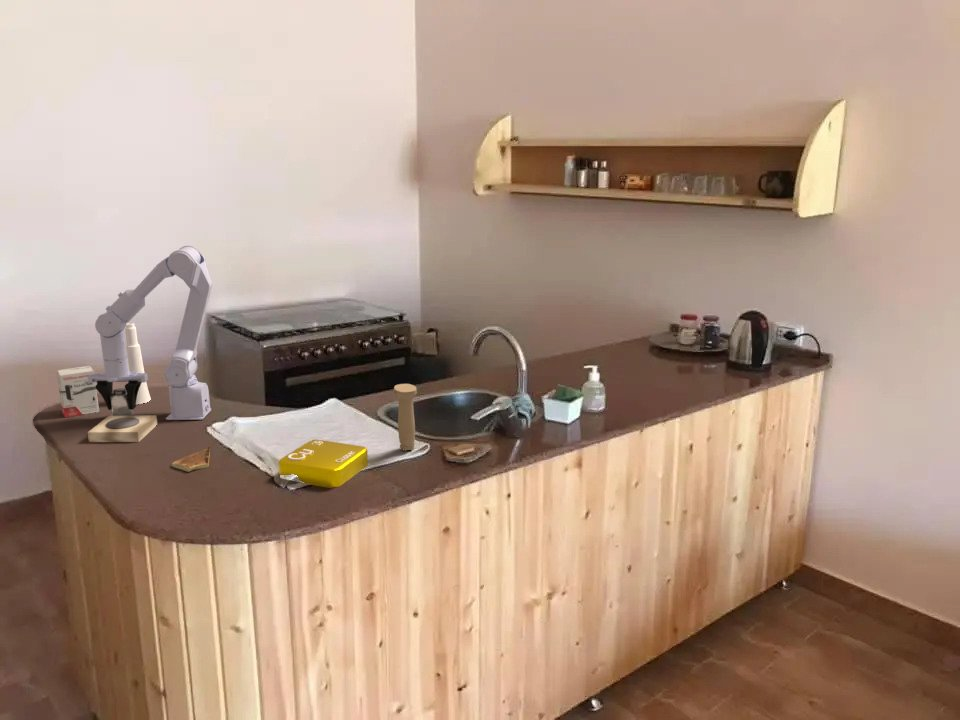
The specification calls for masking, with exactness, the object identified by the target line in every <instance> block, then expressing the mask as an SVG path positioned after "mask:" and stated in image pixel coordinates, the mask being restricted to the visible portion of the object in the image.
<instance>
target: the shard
mask: <svg viewBox="0 0 960 720" xmlns="http://www.w3.org/2000/svg"><path fill="white" fill-rule="evenodd" d="M210 450H211V447H209V446H208V447H207V448H205V449H202V450H200V451H197V452H194V453H190V454H189V455H187V456H184V457H182V458H178V459H177V460H175V461H173V462H172V463H171V467H173V468H174V469H175V468H176V469H179V470H182V471H185V472H188V473H190V472H193V471H196V470H200V469H207V468H209V467H210V457H211V453H210Z"/></svg>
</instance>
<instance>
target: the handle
mask: <svg viewBox="0 0 960 720" xmlns="http://www.w3.org/2000/svg"><path fill="white" fill-rule="evenodd" d="M417 393H418V392H417V386H416V385H414V384H411V383H399V384H396V385H394V387H393V394H394V396H395V397H397V398H398V413H397V414H398V416H397V428H398V430H397V431H398V440H399V449H400V448H401V449H404V450H412V451H413V449H414V447H415V437H416V424H415V422H416V421H415V414H414V413H415V411H414V401H413V400H414V397H415V396H417ZM401 449H400V450H401ZM404 450H403V451H404Z"/></svg>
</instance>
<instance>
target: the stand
mask: <svg viewBox="0 0 960 720" xmlns="http://www.w3.org/2000/svg"><path fill="white" fill-rule="evenodd" d="M157 417H158V416H157V415H153V414H152V415H133V416H112V415H107V417H105V418H104V419H103V420H101V421H100V422H99V423H97V425H95V426H93V428H91V429H90V430H89V431H87V439H88V443H140V442H141V440H143V439H144V438H145V437H146V436H147V435H148V434H149V433H150V432H151V431H152V430H153V429H155V428H156V425H157V426H158V418H157Z"/></svg>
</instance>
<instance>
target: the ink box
mask: <svg viewBox="0 0 960 720" xmlns="http://www.w3.org/2000/svg"><path fill="white" fill-rule="evenodd" d="M90 374H95V370H94V368H93V367H92V366H90V365H85V366H78V367H72V368H63V369H59V370H57V371H56V378H57V383H58V384H57V385H58V391H59V393H58V394H59V399H60V400H59V401H60V408H61V413H62V415H63V417H64V418H72V417H77V416H82V415H83V414H84V415H88V414H89V413H90V414H95V412H96V413H99V412H100V408H99V406H100V405H99V399H98V393H97V392H98V390H97V389H96V387H95V386H96V385H97V382H93V383H89V381H88V376H89V375H90ZM90 414H89V415H90ZM84 415H83V416H84Z"/></svg>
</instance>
